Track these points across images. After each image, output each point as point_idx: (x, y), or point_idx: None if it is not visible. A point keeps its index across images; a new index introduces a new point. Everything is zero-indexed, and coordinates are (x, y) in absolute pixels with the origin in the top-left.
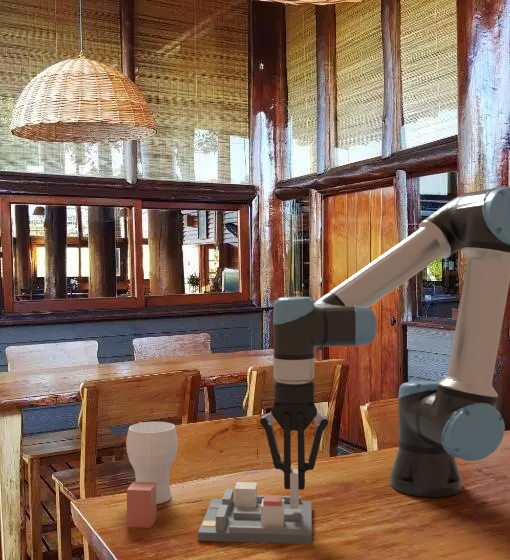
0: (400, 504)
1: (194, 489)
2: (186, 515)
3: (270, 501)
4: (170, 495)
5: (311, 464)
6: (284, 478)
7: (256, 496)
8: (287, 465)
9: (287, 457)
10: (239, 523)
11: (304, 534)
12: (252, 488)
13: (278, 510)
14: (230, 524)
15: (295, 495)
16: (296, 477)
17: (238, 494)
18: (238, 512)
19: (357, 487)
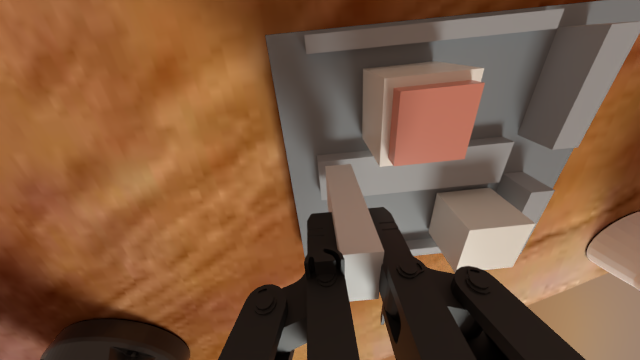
0: (137, 289)
1: (528, 282)
2: (586, 172)
3: (450, 86)
4: (597, 246)
5: (258, 319)
6: (401, 237)
7: (442, 233)
8: (415, 294)
9: (443, 355)
10: (493, 100)
11: (290, 43)
12: (477, 234)
13: (400, 73)
14: (522, 88)
15: (339, 188)
16: (346, 239)
17: (510, 212)
18: (498, 148)
19: None
